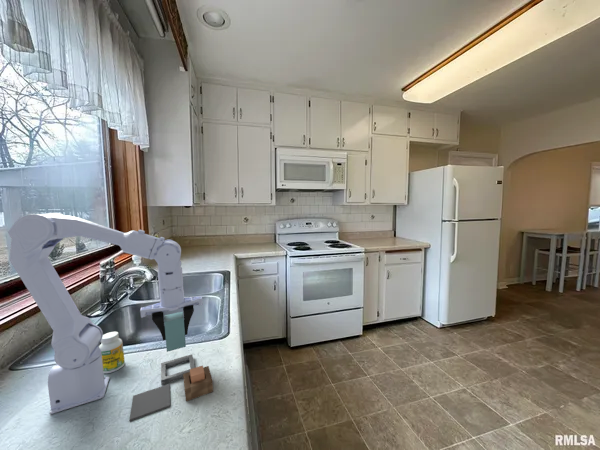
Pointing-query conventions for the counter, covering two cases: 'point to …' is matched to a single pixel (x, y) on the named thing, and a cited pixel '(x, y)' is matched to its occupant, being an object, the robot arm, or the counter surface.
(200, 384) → the housing
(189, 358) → the holder collar
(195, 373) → the orange block
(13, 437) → the counter surface
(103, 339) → the supplement bottle
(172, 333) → the pale teal upright block
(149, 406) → the rubber mat
